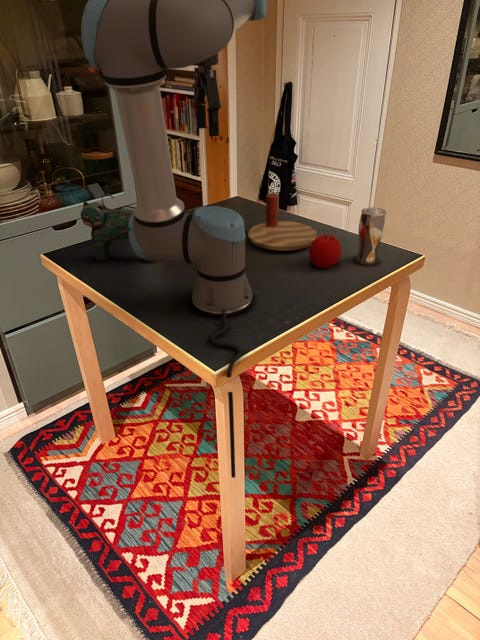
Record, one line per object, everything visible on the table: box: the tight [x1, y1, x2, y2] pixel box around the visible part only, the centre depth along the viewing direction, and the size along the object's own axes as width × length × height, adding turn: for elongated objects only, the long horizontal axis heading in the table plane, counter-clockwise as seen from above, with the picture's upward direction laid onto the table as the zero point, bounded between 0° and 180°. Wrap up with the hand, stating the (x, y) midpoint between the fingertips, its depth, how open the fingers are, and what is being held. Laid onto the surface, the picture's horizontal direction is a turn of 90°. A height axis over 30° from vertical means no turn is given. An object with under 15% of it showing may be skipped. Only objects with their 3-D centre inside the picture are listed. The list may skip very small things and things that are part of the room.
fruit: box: [308, 231, 342, 269], centre depth 132 cm, size 9×9×10 cm
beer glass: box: [355, 206, 387, 266], centre depth 133 cm, size 7×7×15 cm
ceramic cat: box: [80, 193, 154, 263], centre depth 135 cm, size 20×6×20 cm, turn 83°
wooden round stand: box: [247, 193, 318, 251], centre depth 147 cm, size 22×22×11 cm
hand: (207, 132), depth 137 cm, fingers open, 13 cm apart
